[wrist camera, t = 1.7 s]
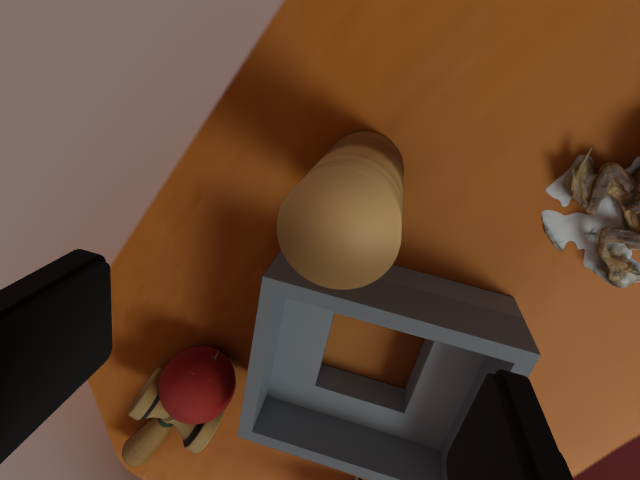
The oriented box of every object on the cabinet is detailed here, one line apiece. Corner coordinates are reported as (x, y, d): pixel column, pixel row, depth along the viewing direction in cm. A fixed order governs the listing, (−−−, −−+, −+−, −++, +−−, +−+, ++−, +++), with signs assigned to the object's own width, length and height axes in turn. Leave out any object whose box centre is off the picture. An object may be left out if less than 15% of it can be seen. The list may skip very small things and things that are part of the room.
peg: (334, 122, 25) (287, 157, 15) (413, 141, 24) (418, 191, 14) (319, 196, 27) (268, 271, 17) (391, 215, 26) (382, 303, 16)
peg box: (289, 236, 29) (262, 276, 23) (513, 297, 27) (540, 355, 22) (263, 379, 34) (237, 436, 29) (445, 435, 33) (453, 507, 28)
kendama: (189, 451, 43) (269, 379, 33) (143, 505, 38) (222, 438, 28) (139, 400, 43) (204, 314, 33) (87, 446, 38) (145, 360, 28)
